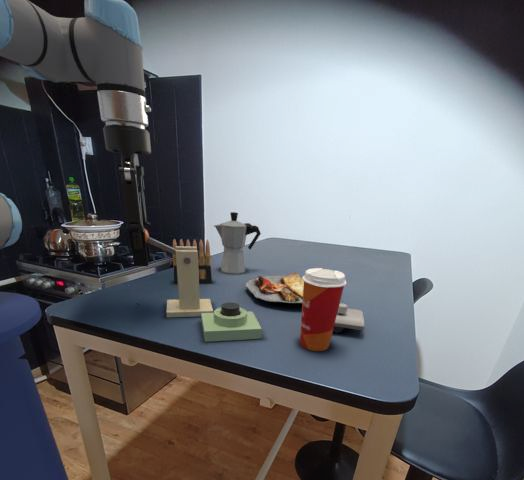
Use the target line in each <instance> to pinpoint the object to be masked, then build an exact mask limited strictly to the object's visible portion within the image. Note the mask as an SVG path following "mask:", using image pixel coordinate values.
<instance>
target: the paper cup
mask: <svg viewBox="0 0 524 480" xmlns="http://www.w3.org/2000/svg"><path fill="white" fill-rule="evenodd" d="M302 277H303V278H302V279H303V281H304V287H303V302H302V303H301V304H302V305H301V319H300V335H299V336H300V337H299V342H300V343H299V344H300V345H301V347H302V348H304V349H305V350H308V351H312V352H322V351H326V350H327V349H328V348H329V347H330V343H331V340H332V337H333V333H334V331H333V328H334V324H335V320H336V316H337V312H338V308H339V304H340V303H341V300H342V297H343V296H342V295H343V291H344V288H345V286H346V285H347V280H346V274H345V273H344V272H341V271H340V270H332V269H329V268H325V269H324V268H323V267H314V268H308V269H306V270H305V273H304V275H303V276H302Z"/></svg>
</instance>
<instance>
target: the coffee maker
mask: <svg viewBox="0 0 524 480" xmlns="http://www.w3.org/2000/svg"><path fill="white" fill-rule="evenodd" d="M238 217H239V213H238V212H235V211H232V212H230V220H228V221H225V222H221V223H219V224H214V225H213V227H214V228H215V229H216V231H217V233H218V234H219V237H220V240H221V245H222V246H223V253H222V261H221V267H220V272H221V273H225V274H229V275H231V274H232V275H239V274H245V273H246V266H245V265H246V264H245V255H244V247H245V246H246V241H247V236H248V235H251V234H253V233H256V234H255V236H254V237H253V239H252V240H251V242H250V243H249V245H248V246H247V248H248V249H249V251H251V250H252V248H253V246H255V243H256V242H257V240H258V239H259V237H260V236H261V234H262V233H261V231H260V228H259V226H257V225H253V224H252V223H249V222H244V223H243V222H241V221H238Z"/></svg>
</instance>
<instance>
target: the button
mask: <svg viewBox="0 0 524 480" xmlns="http://www.w3.org/2000/svg"><path fill="white" fill-rule="evenodd" d="M220 308H221V314H222V315H224V316H229V317H230V316H238V315H239V314H240V308H241V307H240V304H239V303H236V302H224V303H222V304H221V306H220Z"/></svg>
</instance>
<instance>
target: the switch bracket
mask: <svg viewBox="0 0 524 480" xmlns="http://www.w3.org/2000/svg"><path fill="white" fill-rule="evenodd" d="M182 249H185V250H182ZM176 263H177V277H178V284H177V290H178V299H166V318H189V317H191V318H193V317H195V318H196V317H201V313H214V309H213V305H212V301H211V298H201V297H200V283H199V271H198V264H199V250H198V246H197V247H193V245H192V246H191V245H190V246H186V245H185V246H180V245H177V246H176Z"/></svg>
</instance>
